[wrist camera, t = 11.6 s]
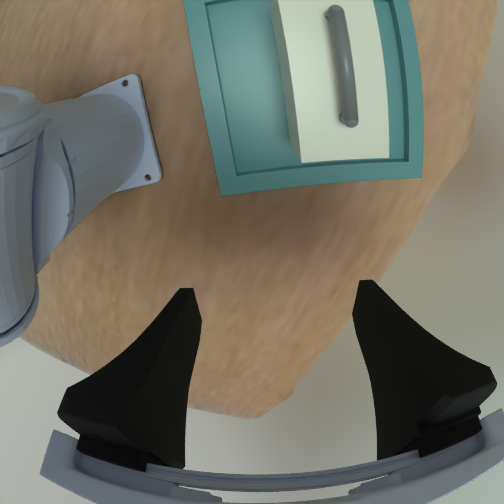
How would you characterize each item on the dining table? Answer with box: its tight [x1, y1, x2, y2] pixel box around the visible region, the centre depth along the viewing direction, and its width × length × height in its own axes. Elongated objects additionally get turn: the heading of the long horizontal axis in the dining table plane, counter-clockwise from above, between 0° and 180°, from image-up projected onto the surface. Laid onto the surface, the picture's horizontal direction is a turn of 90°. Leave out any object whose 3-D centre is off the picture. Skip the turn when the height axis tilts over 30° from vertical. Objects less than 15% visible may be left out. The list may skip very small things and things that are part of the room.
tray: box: [183, 0, 423, 196], centre depth 14 cm, size 14×14×2 cm
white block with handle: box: [270, 0, 389, 163], centre depth 11 cm, size 4×9×6 cm, turn 9°
